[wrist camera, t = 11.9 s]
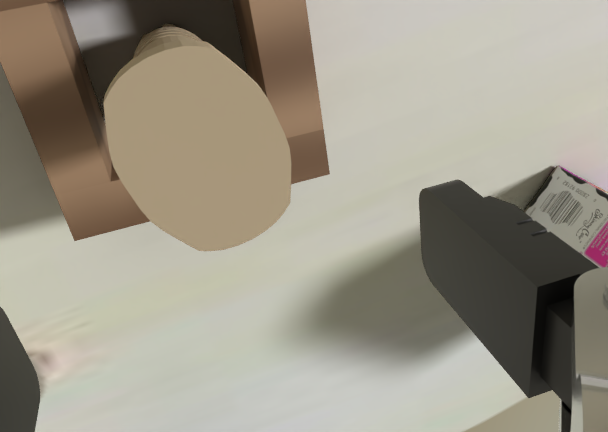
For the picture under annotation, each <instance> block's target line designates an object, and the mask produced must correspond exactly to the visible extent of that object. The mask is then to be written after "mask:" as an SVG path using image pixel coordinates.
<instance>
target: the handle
mask: <svg viewBox="0 0 608 432" xmlns="http://www.w3.org/2000/svg"><path fill="white" fill-rule="evenodd" d="M103 105H104V114H105V123H106V132H107V139H108V146H109V152H110V156H111V160H112V163H113V167H114V169H115V171H116V173H117V175H118V176H119V178H120V180H121V182H122V184H123V185H124V186H125V188H126V189H127V191H128V192H129V194H130V195H131V197H132V198H133V200H134V201H135V202H136V204H137V205H138V207H139V208H140V210H141V211H142V212H143V213H144V214H145V215H146V217H147V218H148V219H149V220H150V221H151V222H152V223H154V224H155V225H156V226H158V227H159V228H160V229H162V230H163V231H165V232H166V233H168V234H170V235H172V236H173V237H175V238H177V239H178V240H180V241H182V242H184V243H186V244H187V245H189V246H191V247H193V248H195V249H197V250H198V251H215V250H224V249H228V248H231V247H235V246H238V245H240V244H242V243H245V242H247V241H249V240H251V239H253V238H255V237H256V236H258V235H260V234H261V233H263V232H265V231H266V230H267V229H268V228H269V227H271V226H272V225H273V224H274V223H276V222H277V220H278V219H279V218H280V217H281V215H282V214H283V213H284V212H285V210H286V208H287V207H288V205H289V204H290V193H291V155H290V148H289V145H288V142H287V139H286V136H285V133H284V131H283V129H282V127H281V125H280V123H279V121H278V118H277V116H276V114H275V112H274V110H273V108H272V106H271V104H270V102H269V100H268V99H267V97H266V95H265V94H264V92H263V91H262V89H261V88H260V87H259V85H258V84H257V83H256V82H255V81H254V80H253V79H252V78H251V77H250V76H249V75H248V74H247V73H246V72H244V71H243V70H242V69H241V68H240V67H239V66H237V65H236V64H235V63H234V62H233V61H231V60H230V59H229V58H227V57H226V56H225V55H224V54H222V53H221V52H220V51H219V50H217V49H216V48H215V47H213V46H212V45H211V44H209V43H208V42H203V41H202V40H201V39H200V38H198V37H197V36H196V35H194V34H193V33H191V32H189V31H187V30H185V29H182V28H179V27H176V26H175V25H173V24H164V25H163V26H162V27H161V28H158V29H155V30H153V31H152V32H150V33H148V34H144V35H143V36H142V37H141V39H140V41H139V44H138V46H137V48H136V50H135V53H134V56H133V59H132V60H131V61H130V62H128V63H127V64H126V65H125V66H124V67H123V68H122V69H121V70H119V72H118V73H117V75H116V76H115V77H114V79H113V80H112V82H111V83H110V85H109V87H108V89H107V91H106V93H105V95H104V102H103Z"/></svg>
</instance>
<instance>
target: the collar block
mask: <svg viewBox="0 0 608 432" xmlns="http://www.w3.org/2000/svg"><path fill="white" fill-rule="evenodd" d="M233 5H234V10H235V15H236V20H237V25H238V30H239V35H240V40H241V45H242V50H243V55H244V60H245V65H246V70H247V74H248V75H249V76H250V77H251V78H252V79H253V80H254V81H255V82H256V83H257V84H258V85H259V87H260V88H261V89H262V91H263V92H264V94H265V95H266V97H267V99H268V100H269V102H270V104H271V106H272V108H273V110H274V112H275V114H276V116H277V118H278V121H279V123H280V125H281V127H282V129H283V131H284V133H285V136H286V139H287V142H288V145H289V148H290V155H291V184H294V183H297V182H301V181H305V180H309V179H313V178H317V177H320V176H324V175H328V174H330V173H329V166H328V158H327V151H326V144H325V137H324V130H323V123H322V115H321V108H320V101H319V94H318V87H317V80H316V72H315V65H314V58H313V51H312V44H311V37H310V29H309V22H308V15H307V8H306V1H305V0H233ZM0 62H1V65H2V67H3V70H4V72H5V74H6V77H7V79H8V82H9V84H10V86H11V89H12V91H13V94H14V96H15V98H16V101H17V103H18V106H19V108H20V110H21V113H22V115H23V118H24V120H25V123H26V125H27V127H28V130H29V132H30V135H31V137H32V139H33V142H34V144H35V147H36V149H37V151H38V154H39V156H40V159H41V161H42V163H43V166H44V168H45V171H46V173H47V176H48V178H49V180H50V183H51V185H52V188H53V190H54V192H55V195H56V197H57V200H58V202H59V204H60V207H61V209H62V212H63V214H64V217H65V219H66V221H67V224H68V226H69V229H70V231H71V233H72V236H73V238H74V241H77V240H80V239H84V238H88V237H92V236H96V235H99V234H103V233H107V232H111V231H115V230H118V229H122V228H126V227H130V226H134V225H137V224H141V223H145V222H149V221H150V220H149V219H148V218H147V217H146V215H145V214H144V213H143V212H142V211H141V210H140V208H139V207H138V205H137V204H136V202H135V201H134V200H133V198H132V197H131V195H130V194H129V192H128V191H127V189H126V188H125V186H124V185H123V184H122V182H121V180H120V178H119V176H118V175H117V173H116V171H115V169H114V167H113V163H112V160H111V156H110V152H109V146H108V139H107V132H106V125H105V122H104V119H103V116H102V114H101V111H100V108H99V105H98V102H97V99H96V96H95V93H94V90H93V87H92V84H91V81H90V78H89V75H88V73H87V70H86V67H85V64H84V61H83V58H82V55H81V52H80V49H79V46H78V43H77V40H76V37H75V35H74V32H73V29H72V26H71V23H70V20H69V17H68V14H67V11H66V8H65V5H64V2H63V0H0Z"/></svg>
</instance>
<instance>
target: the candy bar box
mask: <svg viewBox="0 0 608 432" xmlns="http://www.w3.org/2000/svg"><path fill="white" fill-rule="evenodd" d="M524 212H525V213H526V214H527V215H529V216H530V217H531V218H532V220H533V221H535V220H536V221H537V222H538V223H540V224H541V225H542V226H544V227H545V228H546V229H547V232H550V231H551V232H552V233H553V234H555V235H556V236H557V237H559V238H560V239H561V240H563V241H564V242H565V243H567V244H568V245H570V246H571V247H572V248H574V249H575V250H576V251H578V252H579V253H580V254H582V255H583V256H584V257H586V258H587V259H589V260H590V261H591V262H593V263H594V264H595V265H597V266H598V267H599V268H602V267H608V192H606V191H604V190H603V189H601V188H599V187H597V186H595V185H593V184H591V183H590V182H588V181H586V180H584V179H582V178H580V177H578V176H576V175H575V174H573V173H571V172H569V171H568V170H566V169H564V168H563V167H561V166H556V168H555V169H554V170H553V172H552V173H551V174H550V176H549V177H548V179H547V180H546V181H545V183H544V185H543V186H542V187H541V189H540V190H539V192H538V193H537V194H536V195H535V197H534V198H533V200H532V201H531V202H530V204H529V205H528V206H527V208H526V209H525V211H524Z"/></svg>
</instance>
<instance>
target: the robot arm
mask: <svg viewBox="0 0 608 432" xmlns="http://www.w3.org/2000/svg"><path fill="white" fill-rule="evenodd" d="M419 210H420V231H421V252H422V260H423V264H424V268H425V270H426V273H427V275H428V277H429V279H430V281H431V282H432V284H433V285H434V286H435V288H436V289H437V290H438V291H439V292H440V293H441V295H442V296H443V297H444V298H445V299H446V301H447V302H448V303H449V304H450V305H451V307H452V308H453V309H454V310H455V311H456V312H457V314H458V315H459V316H460V317H461V318H462V320H463V321H464V322H465V323H466V324H467V326H468V327H469V328H470V329H471V330H472V331H473V333H474V334H475V335H476V336H477V337H478V339H479V340H480V341H481V342H482V343H483V345H484V346H485V347H486V348H487V349H488V350H489V352H490V353H491V354H492V355H493V356H494V358H495V359H496V360H497V361H498V362H499V364H500V365H501V366H502V367H503V368H504V370H505V371H506V372H507V373H508V374H509V375H510V377H511V378H512V379H513V380H514V381H515V383H516V384H517V385H518V386H519V387H520V389H521V390H522V391H523V392H524V393H525V394H526V396H527V397H528V398H531V397H533V396H536V395H539V394H542V393H545V392H547V391H550V390H553V391H554V392H555V393H556V394H557V395H558V396H559V398H560V399H561V402H560V410H559V432H608V267H602V268H599V267H598V266H597V265H595V264H594V263H593V262H591V261H590V260H589V259H587V258H586V257H584V256H583V255H582V254H580V253H579V252H578V251H576V250H575V249H574V248H572V247H571V246H570V245H568V244H567V243H565V242H564V241H563V240H561V239H560V238H559V237H557V236H556V235H555V234H553V233H552V232H551V231H550V232H547V229H546V228H545V227H544V226H542V225H541V224H540V223H538V222H537V221H536V220H535V221H533V220H532V218H531V217H530V216H529V215H527V214H526V213H525V212H523V211H522V210H521V209H519V208H518V207H517V206H515V205H513V204H511V203H508V202H505V201H502V200H499V199H496V198H493V197H491V196H488V197H485V198H483V197H482V196H481V195H479V194H478V193H477V192H475V191H474V190H473V189H472V188H470V187H469V186H468V185H466V184H465V183H464V182H462V181H461V180H454V181H450V182H447V183H443V184H439V185H436V186H432V187H428V188H425V189H422V191H421V192H420V196H419ZM39 403H40V388H39V382H38V377H37V374H36V371H35V369H34V366H33V364H32V363H31V361H30V359H29V357H28V355H27V353H26V351H25V349H24V347H23V346H22V344H21V342H20V340H19V338H18V336H17V334H16V332H15V330H14V329H13V327H12V325H11V323H10V321H9V319H8V317H7V315H6V314H5V312H4V311H3V309H2V308H1V307H0V432H35V426H36V420H37V415H38V409H39Z"/></svg>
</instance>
